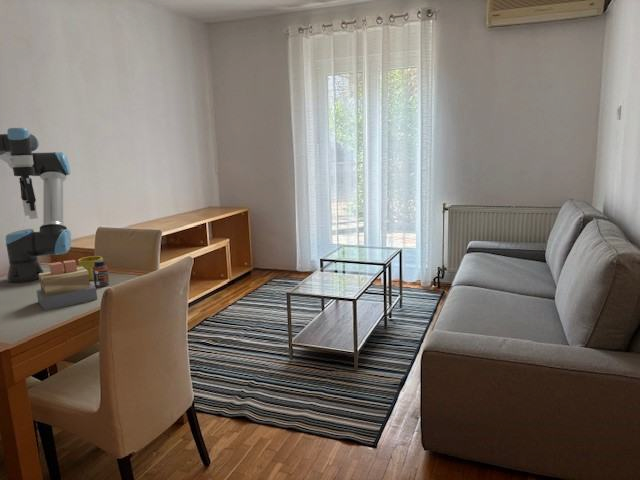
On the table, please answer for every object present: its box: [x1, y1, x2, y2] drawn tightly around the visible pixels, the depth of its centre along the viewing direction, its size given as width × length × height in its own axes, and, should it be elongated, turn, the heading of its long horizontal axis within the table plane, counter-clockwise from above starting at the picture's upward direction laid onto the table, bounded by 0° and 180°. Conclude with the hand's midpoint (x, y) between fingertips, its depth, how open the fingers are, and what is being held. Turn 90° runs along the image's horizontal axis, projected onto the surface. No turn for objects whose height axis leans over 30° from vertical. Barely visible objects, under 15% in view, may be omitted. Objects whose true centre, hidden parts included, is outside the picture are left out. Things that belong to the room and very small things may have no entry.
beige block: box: [38, 266, 91, 296], centre depth 191 cm, size 10×16×7 cm, turn 129°
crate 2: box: [62, 259, 78, 273], centre depth 191 cm, size 4×4×4 cm
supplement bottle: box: [93, 259, 110, 288], centre depth 211 cm, size 6×6×11 cm
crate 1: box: [48, 261, 64, 275], centre depth 188 cm, size 4×4×4 cm
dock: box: [36, 282, 98, 311], centre depth 192 cm, size 14×19×5 cm
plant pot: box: [77, 255, 104, 281], centre depth 224 cm, size 10×10×10 cm
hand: (31, 217), depth 200 cm, fingers open, 13 cm apart
